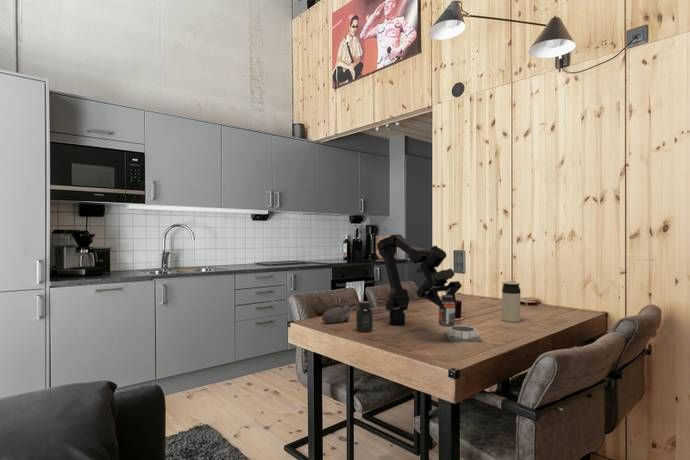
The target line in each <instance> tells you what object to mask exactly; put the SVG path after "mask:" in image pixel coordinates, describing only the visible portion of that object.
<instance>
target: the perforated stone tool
mask: <svg viewBox="0 0 690 460" xmlns="http://www.w3.org/2000/svg"><path fill="white" fill-rule="evenodd" d="M350 309H351V308H350V306H349V305H345V306H337V307H333V308H331V309H328V310H325V312H323V313H322V315H321V320H322V322H324V323H325V324H337V323H338V324H339V323H340V324H341V323H343V322H348V321H349V319H350V315H351V314H350Z"/></svg>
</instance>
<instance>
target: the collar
mask: <svg viewBox="0 0 690 460" xmlns="http://www.w3.org/2000/svg"><path fill="white" fill-rule="evenodd" d="M444 334H445V336H446V337H447V339H448V340H449V342H470V343H471V342H472V343H473V342H476V343H482V342H483V339H482V338H481V337H480V336H479V330H478V328H476V327H474V326H470V325H469V326H468V325H459V324H458V325H456V324H455V325H454V326H452V327H447V330H445V331H444Z"/></svg>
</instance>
